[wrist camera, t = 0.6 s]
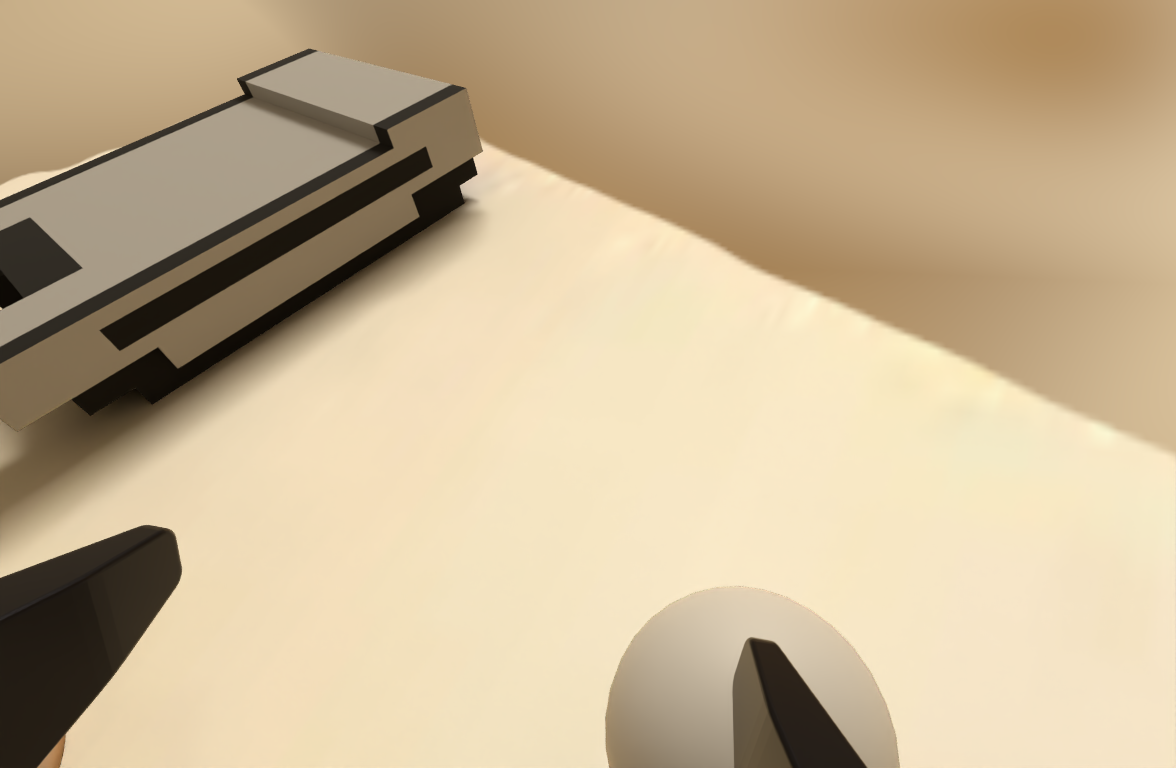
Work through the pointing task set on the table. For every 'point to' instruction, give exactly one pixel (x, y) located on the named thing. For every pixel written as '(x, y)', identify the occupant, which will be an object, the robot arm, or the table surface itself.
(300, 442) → the table surface
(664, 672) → the lightbulb
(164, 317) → the game console
